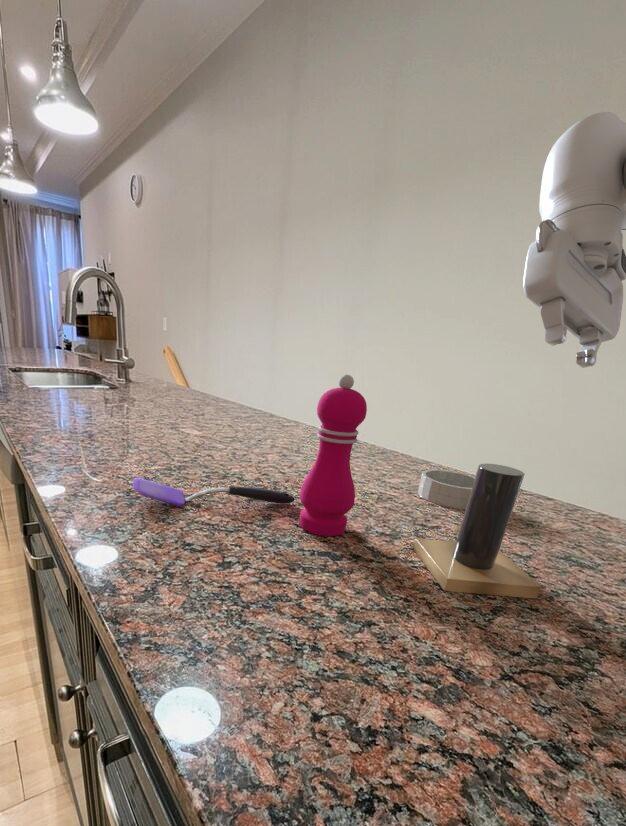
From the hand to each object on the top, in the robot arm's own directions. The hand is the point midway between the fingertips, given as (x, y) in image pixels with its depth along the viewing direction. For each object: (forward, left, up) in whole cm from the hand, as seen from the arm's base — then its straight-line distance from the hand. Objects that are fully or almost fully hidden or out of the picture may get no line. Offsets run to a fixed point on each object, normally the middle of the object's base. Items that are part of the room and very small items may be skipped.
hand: (571, 354), depth 57 cm
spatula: (+44, 0, -25) cm, 51 cm away
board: (+13, +15, -25) cm, 32 cm away
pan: (+5, -10, -25) cm, 27 cm away
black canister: (+13, +15, -23) cm, 31 cm away
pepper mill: (+29, +6, -25) cm, 39 cm away
